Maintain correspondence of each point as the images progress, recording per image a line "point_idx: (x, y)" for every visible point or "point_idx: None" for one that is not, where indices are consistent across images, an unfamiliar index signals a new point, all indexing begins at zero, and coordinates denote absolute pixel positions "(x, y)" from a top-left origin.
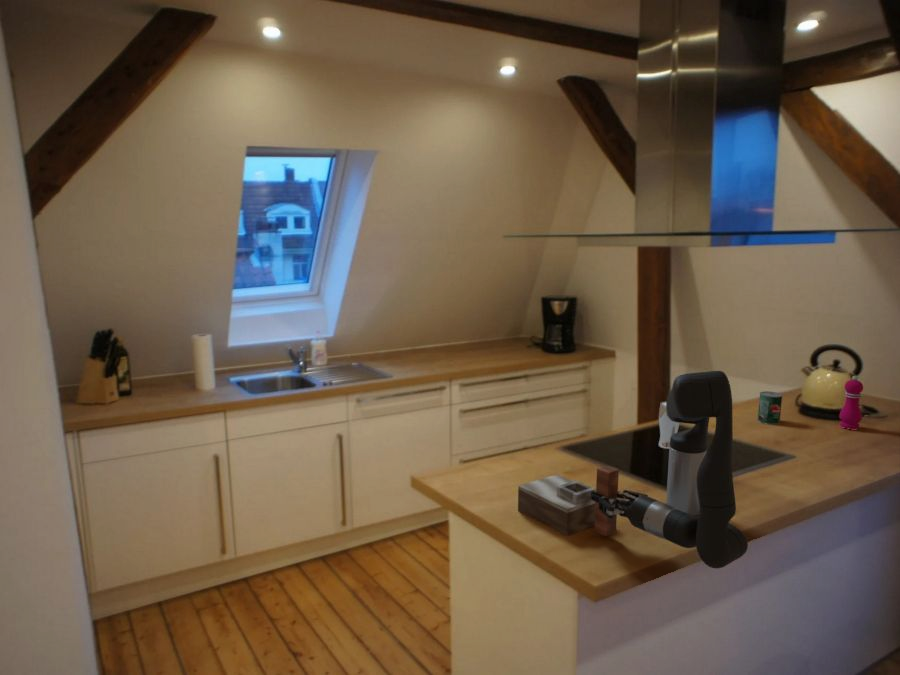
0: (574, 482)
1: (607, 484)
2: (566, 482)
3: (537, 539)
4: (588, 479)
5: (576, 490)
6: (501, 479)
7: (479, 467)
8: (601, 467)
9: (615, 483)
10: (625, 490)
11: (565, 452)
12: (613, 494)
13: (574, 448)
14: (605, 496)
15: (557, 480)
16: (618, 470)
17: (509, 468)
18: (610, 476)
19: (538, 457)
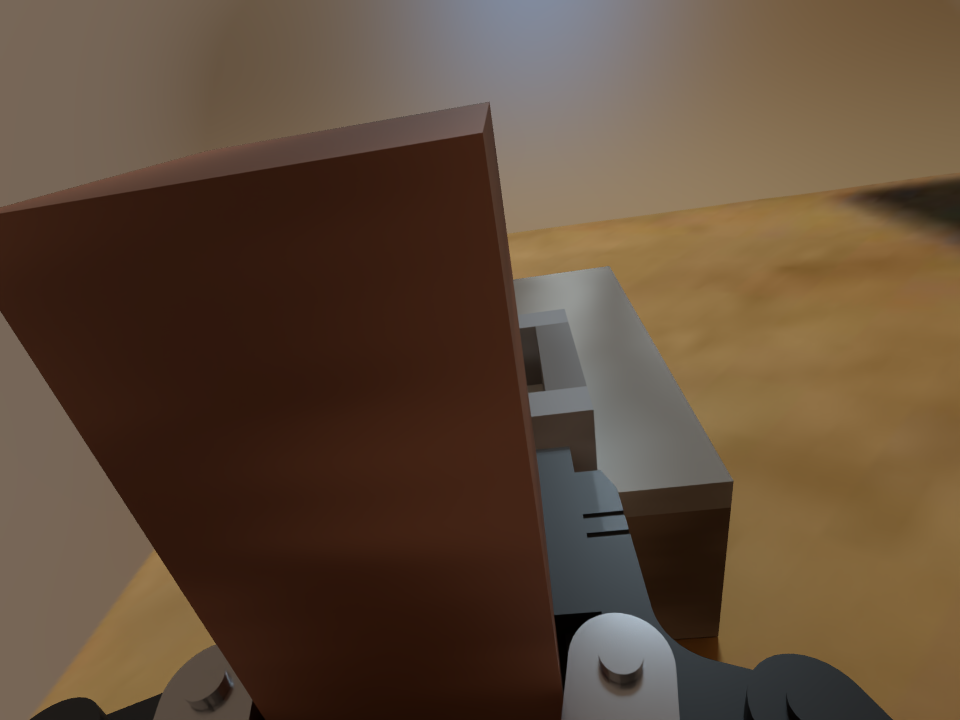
0: (533, 320)
1: (159, 521)
2: (591, 310)
3: (185, 610)
4: (866, 304)
5: (541, 374)
6: (538, 273)
7: (538, 238)
8: (307, 133)
9: (431, 533)
10: (800, 705)
11: (858, 207)
12: (429, 701)
13: (907, 196)
14: (208, 701)
15: (564, 294)
16: (470, 163)
17: (610, 245)
18: (112, 348)
19: (742, 219)
